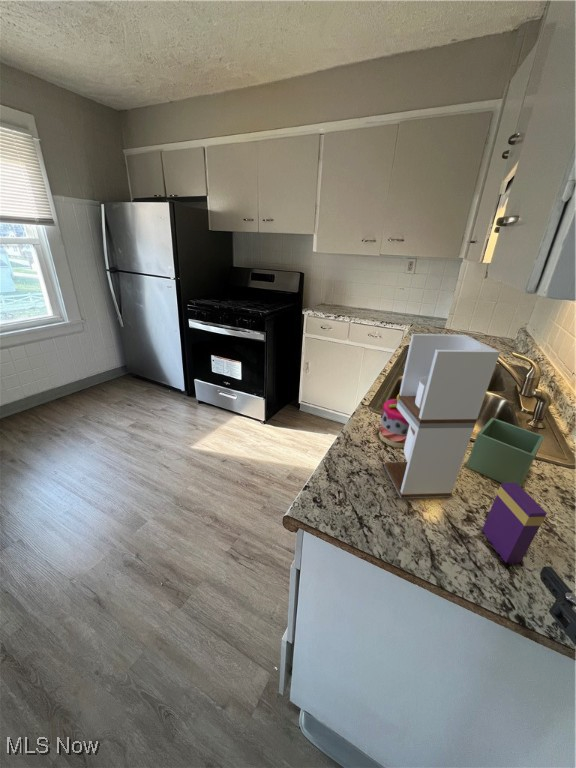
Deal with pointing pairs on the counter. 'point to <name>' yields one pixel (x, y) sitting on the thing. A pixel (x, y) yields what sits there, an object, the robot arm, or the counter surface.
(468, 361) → the display case
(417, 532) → the counter surface
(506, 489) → the chocolate bar
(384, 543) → the counter surface
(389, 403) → the cake
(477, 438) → the waste bin
